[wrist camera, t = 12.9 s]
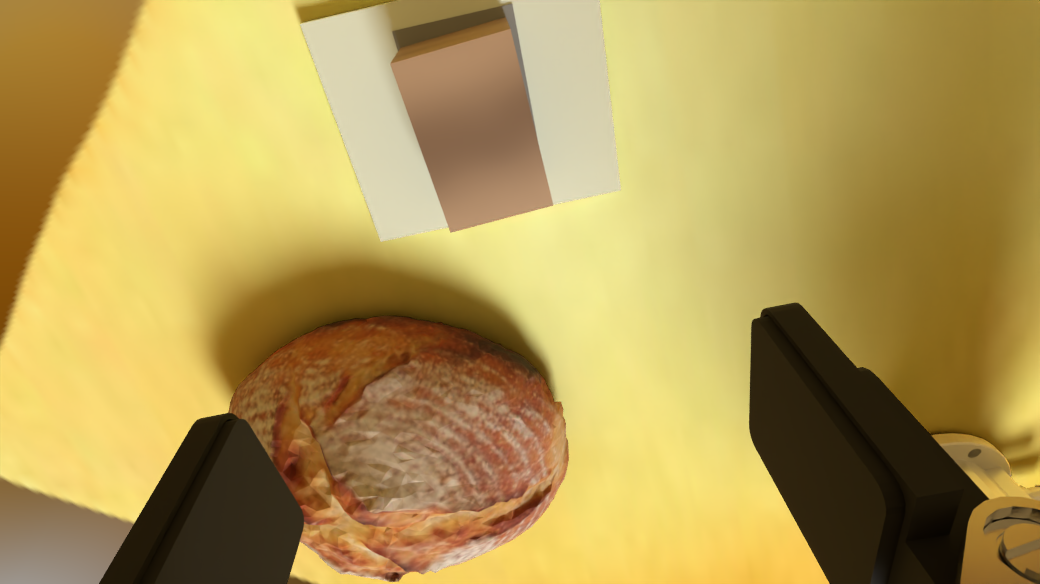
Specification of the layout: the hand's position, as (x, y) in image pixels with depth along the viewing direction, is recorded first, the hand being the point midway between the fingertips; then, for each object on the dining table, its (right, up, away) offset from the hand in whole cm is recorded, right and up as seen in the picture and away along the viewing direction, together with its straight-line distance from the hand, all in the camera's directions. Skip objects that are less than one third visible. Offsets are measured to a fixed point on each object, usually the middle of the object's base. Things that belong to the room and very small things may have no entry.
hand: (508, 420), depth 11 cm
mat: (-2, +11, +15) cm, 19 cm away
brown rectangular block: (-2, +10, +15) cm, 18 cm away
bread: (-6, -5, +25) cm, 26 cm away
